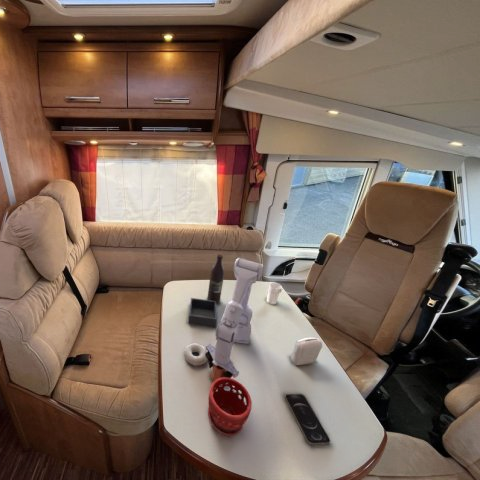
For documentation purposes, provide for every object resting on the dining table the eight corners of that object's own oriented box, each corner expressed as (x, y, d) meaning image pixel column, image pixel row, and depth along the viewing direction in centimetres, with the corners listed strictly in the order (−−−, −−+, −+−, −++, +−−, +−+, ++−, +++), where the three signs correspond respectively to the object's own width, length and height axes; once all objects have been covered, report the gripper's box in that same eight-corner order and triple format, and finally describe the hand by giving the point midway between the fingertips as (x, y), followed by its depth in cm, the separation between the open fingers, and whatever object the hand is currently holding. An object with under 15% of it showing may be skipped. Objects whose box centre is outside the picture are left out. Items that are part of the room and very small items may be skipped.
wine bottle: (206, 304, 131) (212, 257, 119) (207, 296, 138) (213, 251, 125) (219, 306, 130) (226, 259, 117) (220, 298, 136) (227, 253, 123)
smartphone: (303, 394, 86) (332, 442, 73) (303, 395, 87) (331, 444, 73) (284, 394, 86) (308, 443, 73) (283, 395, 87) (308, 445, 73)
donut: (182, 365, 97) (207, 369, 95) (183, 359, 96) (207, 363, 94) (185, 345, 106) (207, 349, 104) (185, 339, 105) (208, 343, 103)
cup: (262, 299, 136) (266, 283, 131) (270, 296, 138) (275, 281, 134) (271, 306, 131) (276, 290, 126) (280, 303, 133) (285, 287, 128)
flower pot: (248, 444, 73) (255, 422, 68) (205, 435, 75) (209, 413, 70) (242, 401, 85) (248, 379, 79) (205, 394, 87) (209, 372, 81)
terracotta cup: (224, 372, 94) (227, 359, 91) (225, 385, 90) (228, 371, 86) (211, 370, 95) (213, 356, 92) (211, 382, 91) (213, 368, 87)
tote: (215, 308, 128) (216, 301, 126) (215, 327, 116) (217, 319, 114) (190, 305, 130) (190, 297, 128) (188, 323, 118) (189, 315, 116)
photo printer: (295, 366, 97) (303, 345, 92) (288, 357, 101) (296, 337, 96) (316, 363, 99) (326, 342, 94) (309, 354, 103) (317, 334, 97)
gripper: (201, 341, 89) (198, 365, 95) (231, 370, 78) (225, 395, 84) (214, 333, 93) (210, 356, 99) (244, 360, 82) (238, 385, 88)
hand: (218, 374), depth 92 cm, fingers open, 7 cm apart
